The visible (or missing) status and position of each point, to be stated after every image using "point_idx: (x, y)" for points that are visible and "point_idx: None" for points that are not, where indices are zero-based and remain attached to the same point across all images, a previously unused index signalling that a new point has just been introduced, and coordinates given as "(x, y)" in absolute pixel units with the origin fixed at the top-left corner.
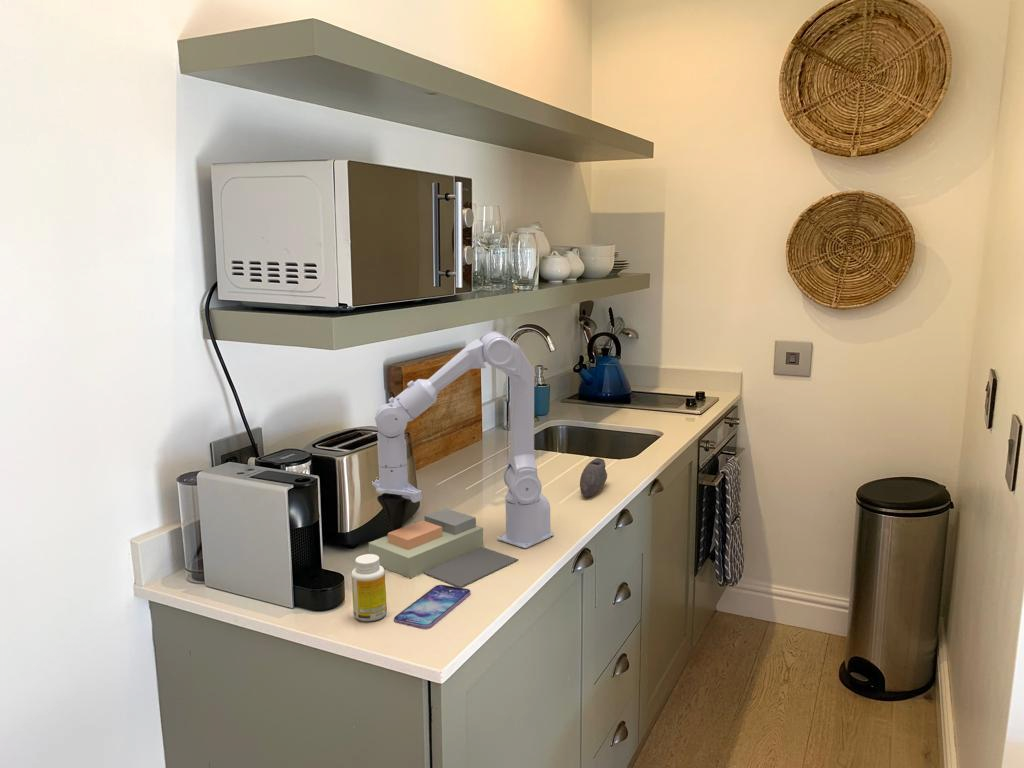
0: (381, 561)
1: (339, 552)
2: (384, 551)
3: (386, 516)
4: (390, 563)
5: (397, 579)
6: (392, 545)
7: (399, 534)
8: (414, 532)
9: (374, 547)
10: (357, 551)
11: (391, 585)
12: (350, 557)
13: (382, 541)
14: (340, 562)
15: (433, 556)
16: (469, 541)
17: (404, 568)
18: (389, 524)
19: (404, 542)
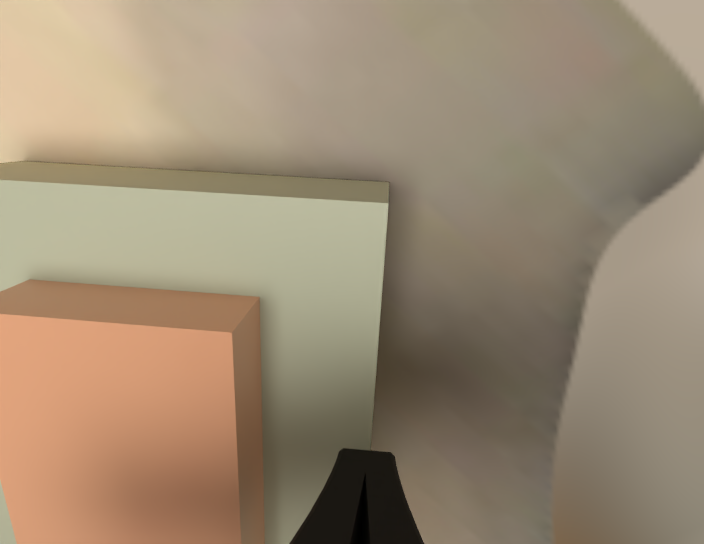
0: (259, 178)
1: (688, 168)
2: (189, 187)
3: (414, 535)
4: (164, 175)
5: (56, 105)
6: (186, 274)
7: (120, 362)
8: (73, 453)
9: (313, 195)
10: (582, 250)
11: (7, 17)
12: (554, 156)
13: (311, 286)
14: (555, 52)
15: None
16: None
17: (27, 168)
18: (384, 475)
19: (27, 300)
